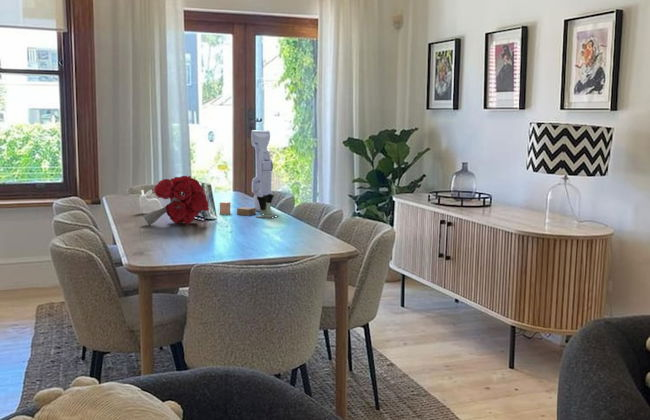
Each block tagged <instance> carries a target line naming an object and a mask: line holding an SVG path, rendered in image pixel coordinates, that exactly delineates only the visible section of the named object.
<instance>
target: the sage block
mask: <svg viewBox="0 0 650 420" xmlns="http://www.w3.org/2000/svg"><path fill="white" fill-rule="evenodd" d="M271 205H272V202H271V203H266V207H265V210H261V209H260V211H259V215H261V214H270V215H271V210H272V208H271Z"/></svg>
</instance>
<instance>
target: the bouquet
mask: <svg viewBox="0 0 650 420" xmlns="http://www.w3.org/2000/svg"><path fill="white" fill-rule="evenodd" d="M153 191H154V193H155V196H156V197H157V198H159V199H164V200H169V201H170V202H169V203H168V204H166V205H165V206H164V207H163V208H162V209H160V210H156V211H153V212H150V213H148V214H144V215H142V216H143V218H144V220H145V222H146V223H147V225H148V226H151V225H153V224H155V222H157V220H159V219H160V218H161V217H162V216H163V215H164V214H166V215H167V216H168V217H169V220H171V222H172V223H174V224H182V223H184V224H185V225H186V226H189V225H190V224H191V223H192V222H193V221H194V220H195V217H196V216H198V215H199V214H200V213H201V212H202V211H205V212H208V211H209V210H210V209H209V202H208V200H207V194H206V193H205V191H204V189H203V187H202V185H201V184H200V182H199V181H198V180H197V179H196V178H193V177H192V176H191V175H188V176H187V175H182V176H175V177H173V178H171V179H169V178H163V179H161V180H160V181H159V182H158V183H156V185H155V186H154V188H153ZM183 194H184V195H183Z"/></svg>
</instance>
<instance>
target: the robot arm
mask: <svg viewBox="0 0 650 420" xmlns="http://www.w3.org/2000/svg"><path fill="white" fill-rule="evenodd" d="M250 139H251V140H250V143H251V147H253V148H254V150H255V167H256V168H255V170H256V173H255V174H256V176H255V177H253V178H252V179H251V193H252V194H254V195H253V201H254V202H253V208H256V211H257V212H260V209H261V210H265V207H266V203H271V204H272V202H273V199H274V197H275V195H274V194H273V190H272V172H273V169H274V163H273V160H272V159H271V154H270V151H269V150H268V146H269V143H270V140H271V132H270V130H268V129H267V130H263V129H262V130H261V129H260V130H258V129H257V130H254V129H252V130H251V133H250Z"/></svg>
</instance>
